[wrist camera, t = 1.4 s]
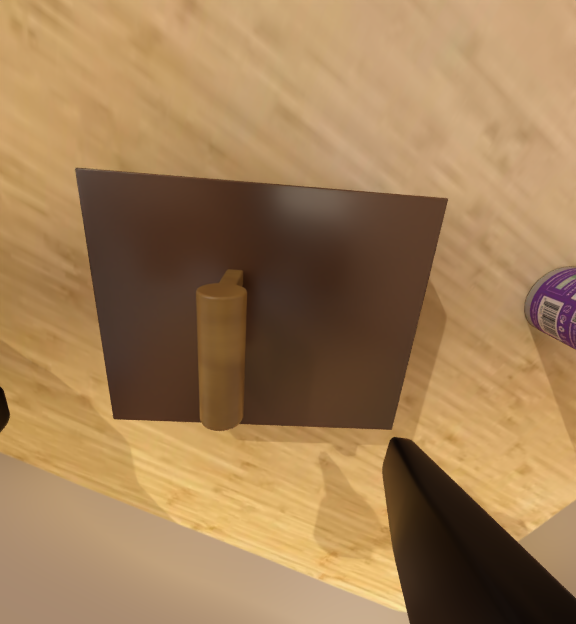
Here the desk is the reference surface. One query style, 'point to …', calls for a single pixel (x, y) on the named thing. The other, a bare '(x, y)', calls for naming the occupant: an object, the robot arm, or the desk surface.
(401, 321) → the box door
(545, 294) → the container
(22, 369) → the desk surface
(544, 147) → the desk surface
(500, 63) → the desk surface
